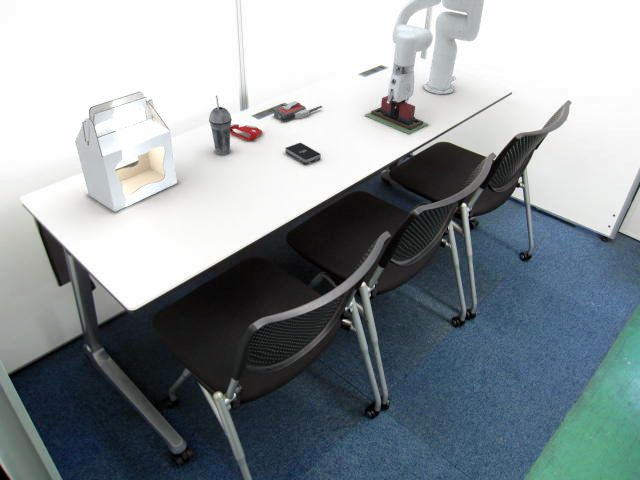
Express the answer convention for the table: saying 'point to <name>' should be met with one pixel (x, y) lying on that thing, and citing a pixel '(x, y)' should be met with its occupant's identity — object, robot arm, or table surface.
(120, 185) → the gable box
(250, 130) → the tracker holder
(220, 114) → the beverage cup
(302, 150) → the external hard drive
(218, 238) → the table surface
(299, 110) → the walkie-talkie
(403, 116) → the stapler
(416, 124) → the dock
